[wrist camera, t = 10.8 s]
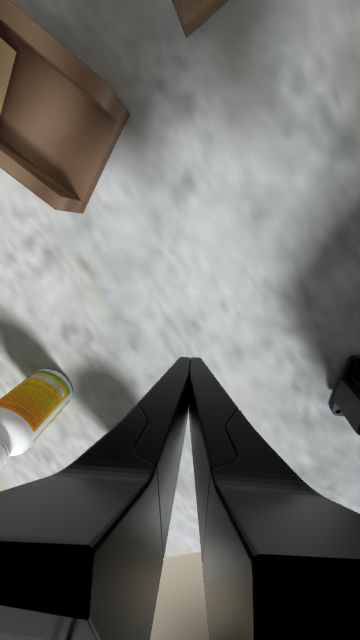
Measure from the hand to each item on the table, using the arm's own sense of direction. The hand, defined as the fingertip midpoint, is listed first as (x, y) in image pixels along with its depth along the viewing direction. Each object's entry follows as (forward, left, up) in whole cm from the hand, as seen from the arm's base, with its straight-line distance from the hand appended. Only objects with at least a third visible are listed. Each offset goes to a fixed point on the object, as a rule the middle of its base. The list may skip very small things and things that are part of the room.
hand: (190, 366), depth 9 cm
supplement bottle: (+18, +13, -12) cm, 25 cm away
